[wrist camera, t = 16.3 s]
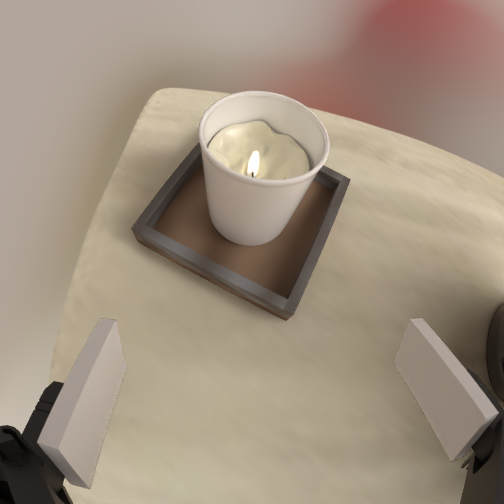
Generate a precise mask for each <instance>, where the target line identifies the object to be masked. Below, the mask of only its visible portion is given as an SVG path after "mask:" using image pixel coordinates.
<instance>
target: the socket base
mask: <svg viewBox="0 0 504 504" xmlns="http://www.w3.org/2000/svg"><path fill="white" fill-rule="evenodd" d="M349 182H350V179H349V178H347V177H345V176H343V175H341V174H339V173H338V172H336V171H334V170H332V169H330V168H328V167H326V166H324V165H323V166H322V167H321V169H320V170H319V171H318V173H317V175H316V176H315V178H314V180H313V181H312V183H311V185H310V187H309V188H308V190H307V192H306V193H305V195H304V197H303V198H302V200H301V202H300V204H299V205H298V207H297V209H296V210H295V212H294V214H293V215H292V217H291V219H290V220H289V222H288V224H287V225H286V227H285V228H284V230H283V231H282V232H281V233H280V234H279V235H278V236H277V237H276V238H275V239H273V240H272V241H270V242H268V243H265V244H262V245H257V246H245V245H240V244H236V243H234V242H231V241H229V240H228V239H226V238H225V237H223V236H222V235H221V234H220V233H219V232H218V231H217V230H216V228H215V227H214V225H213V223H212V221H211V218H210V215H209V210H208V203H207V195H206V187H205V179H204V171H203V162H202V154H201V145H200V142H199V143H198V144H197V145H196V146H195V147H194V149H193V150H192V151H191V152H190V153H189V155H188V156H187V157H186V158H185V159H184V161H183V162H182V163H181V164H180V165H179V167H178V168H177V169H176V170H175V172H174V173H173V174H172V175H171V177H170V178H169V179H168V180H167V182H166V183H165V184H164V186H163V187H162V188H161V189H160V191H159V192H158V193H157V195H156V196H155V197H154V199H153V200H152V201H151V202H150V204H149V205H148V206H147V208H146V209H145V211H144V212H143V213H142V215H141V216H140V217H139V219H138V220H137V221H136V223H135V224H134V226H133V227H132V228H131V229H132V231H133V233H134V235H135V237H136V239H137V241H138V242H140V243H141V244H143V245H145V246H147V247H148V248H150V249H152V250H154V251H155V252H157V253H159V254H161V255H163V256H164V257H166V258H168V259H170V260H172V261H173V262H175V263H177V264H179V265H181V266H182V267H184V268H186V269H188V270H190V271H192V272H194V273H195V274H197V275H199V276H201V277H203V278H205V279H207V280H208V281H210V282H212V283H214V284H216V285H218V286H220V287H222V288H223V289H225V290H227V291H229V292H231V293H233V294H235V295H237V296H239V297H241V298H243V299H245V300H247V301H248V302H250V303H252V304H254V305H256V306H258V307H260V308H262V309H264V310H266V311H268V312H270V313H272V314H274V315H276V316H278V317H280V318H282V319H284V320H287V319H289V318H290V317H291V316H292V315H293V314H294V312H295V310H296V308H297V306H298V304H299V301H300V299H301V297H302V295H303V293H304V290H305V288H306V286H307V284H308V281H309V279H310V277H311V275H312V272H313V270H314V268H315V265H316V263H317V261H318V258H319V256H320V254H321V251H322V249H323V247H324V244H325V242H326V240H327V237H328V235H329V232H330V230H331V227H332V225H333V223H334V220H335V218H336V215H337V213H338V210H339V208H340V205H341V203H342V200H343V198H344V195H345V192H346V190H347V187H348V185H349Z"/></svg>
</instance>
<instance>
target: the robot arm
mask: <svg viewBox="0 0 504 504" xmlns="http://www.w3.org/2000/svg"><path fill="white" fill-rule="evenodd" d="M487 363H488V371H489V376H490V380H491V383H492V386H493V388H494V390H495V392H496V393H497V395H498V396H499V397H500V398H501V399H502V400H504V304H503V305H502V306H501V307H500V308H499V309H498V310H497V312H496V313H495V315H494V317H493V320H492V323H491V326H490V330H489V335H488V342H487ZM394 365H395V367H396V368H397V370H398V371H399V373H400V375H401V376H402V378H403V380H404V381H405V383H406V384H407V386H408V388H409V389H410V391H411V393H412V394H413V396H414V398H415V399H416V401H417V403H418V405H419V406H420V408H421V410H422V411H423V413H424V415H425V417H426V418H427V420H428V422H429V424H430V425H431V427H432V429H433V431H434V432H435V434H436V436H437V438H438V440H439V441H440V443H441V445H442V447H443V449H444V450H445V452H446V454H447V456H448V458H449V460H450V462H452V461H454V460H456V459H459V458H461V457H463V456H464V455H465V454H466V453H467V452H468V451H469V450H470V449H471V447H472V449H473V451H474V452H473V453H472V454H471V455H470V457H469V458H468V459H467V460H466V461H465V462H464V463H463V464H462V467H461V468H464V467H465V466H466V465H467V464H468V463H469V466H468V467H467V468H466V469H468V471H467V476H466V481H465V485H464V489H463V493H462V497H461V501H460V504H504V410H503V408H502V407H501V406H500V404H499V403H498V402H497V400H496V399H495V398H494V397H493V395H492V394H491V393H490V391H488V390H487V388H486V386H485V385H484V384H483V382H482V381H481V380H480V379H479V377H478V376H477V375H476V374H474V373H473V372H472V371H470V370H469V369H465V368H464V367H463V365H462V364H461V363H460V362H459V361H458V359H457V358H456V357H455V356H454V354H453V353H452V352H451V351H450V350H449V348H448V347H447V346H446V345H445V344H444V343H443V341H442V340H441V339H440V338H439V337H438V336H437V334H436V333H435V332H434V331H433V330H432V329H431V327H430V326H429V325H428V324H427V323H426V322H425V321H424V320H423V318H415V319H410V320H409V323H408V325H407V328H406V331H405V334H404V337H403V339H402V342H401V345H400V347H399V350H398V353H397V355H396V358H395V360H394ZM126 369H127V366H126V362H125V357H124V353H123V349H122V345H121V340H120V336H119V331H118V326H117V321H116V320H114V319H103V318H100V319H99V321H98V323H97V324H96V326H95V328H94V330H93V331H92V333H91V335H90V337H89V338H88V340H87V342H86V344H85V346H84V347H83V349H82V351H81V353H80V355H79V357H78V358H77V360H76V362H75V364H74V366H73V368H72V370H71V372H70V374H69V376H68V377H67V379H66V381H65V383H60V382H56V381H54V382H53V383H51V384H50V385H49V386H48V387H47V388H46V389H45V390H44V392H43V394H42V395H41V397H40V399H39V400H40V401H39V402H38V403H37V405H36V407H35V410H34V411H33V413H32V415H31V417H30V419H29V421H28V423H27V425H26V427H25V429H24V431H23V433H22V435H21V434H20V432H19V431H18V430H17V429H16V428H14V427H12V426H8V425H6V426H0V504H73V502H72V500H71V498H70V497H69V495H68V493H67V491H66V489H65V487H64V486H63V481H64V478H66V479H67V480H68V481H69V482H70V483H71V484H73V485H76V486H79V487H83V488H87V489H91V485H92V481H93V477H94V473H95V469H96V465H97V462H98V458H99V455H100V451H101V448H102V444H103V441H104V437H105V434H106V430H107V427H108V424H109V421H110V417H111V414H112V411H113V408H114V405H115V402H116V399H117V396H118V393H119V390H120V387H121V384H122V381H123V378H124V375H125V372H126Z"/></svg>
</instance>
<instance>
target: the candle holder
mask: <svg viewBox="0 0 504 504" xmlns="http://www.w3.org/2000/svg"><path fill="white" fill-rule="evenodd" d="M198 136H199V142H200V145H201V154H202V162H203V171H204V179H205V187H206V195H207V203H208V210H209V215H210V218H211V221H212V223H213V225H214V227H215V228H216V230H217V231H218V232H219V233H220V234H221V235H222V236H223V237H225V238H226V239H228V240H229V241H231V242H234V243H236V244H240V245H245V246H257V245H262V244H265V243H268V242H270V241H272V240H273V239H275V238H276V237H277V236H278V235H279V234H280V233H281V232H282V231H283V230H284V228H285V227H286V225H287V224H288V222H289V220H290V219H291V217H292V215H293V214H294V212H295V210H296V209H297V207H298V205H299V204H300V202H301V200H302V198H303V197H304V195H305V193H306V192H307V190H308V188H309V187H310V185H311V183H312V181H313V180H314V178H315V176H316V175H317V173H318V171H319V170H320V169H321V167H322V166H323V165H324V163H325V161H326V159H327V157H328V154H329V147H330V143H329V137H328V133H327V131H326V128H325V127H324V125H323V123H322V122H321V120H320V119H319V118H318V117H317V116H316V115H315V114H314V113H313V112H312V111H311V110H310V109H309V108H307V107H306V106H305V105H303V104H301V103H300V102H298V101H296V100H294V99H291V98H289V97H287V96H283V95H280V94H277V93H272V92H266V91H245V92H239V93H235V94H231V95H228V96H226V97H224V98H222V99H220V100H218V101H216V102H215V103H214V104H212V105H211V106H210V107H209V108H208V109H207V110H206V112H205V113H204V115H203V116H202V118H201V121H200V124H199V129H198Z"/></svg>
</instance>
